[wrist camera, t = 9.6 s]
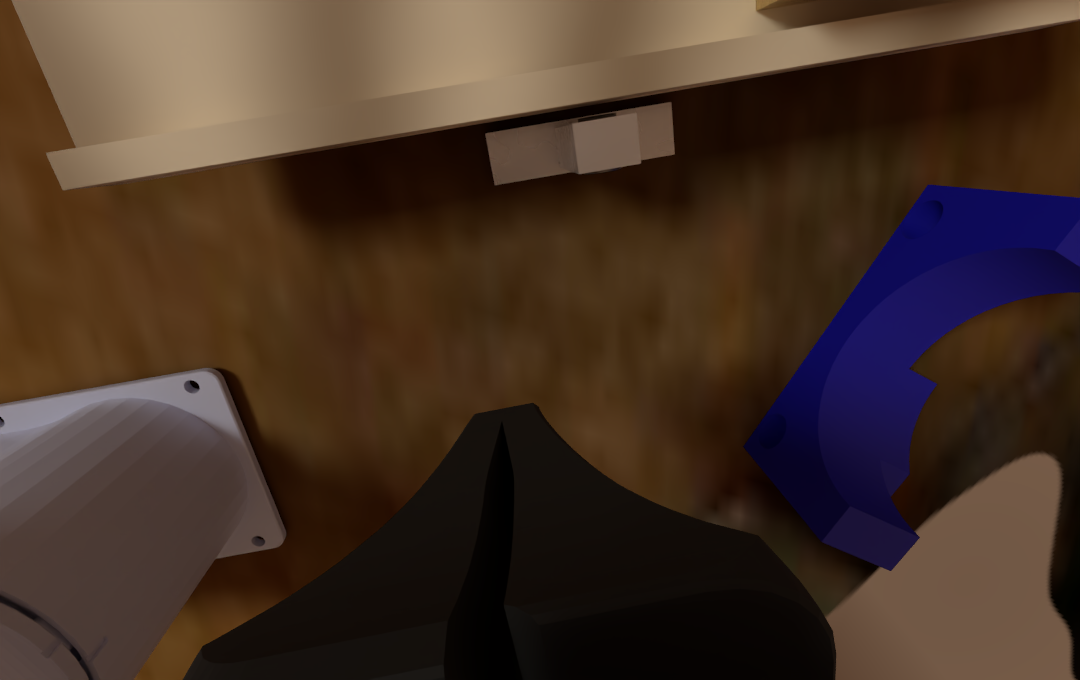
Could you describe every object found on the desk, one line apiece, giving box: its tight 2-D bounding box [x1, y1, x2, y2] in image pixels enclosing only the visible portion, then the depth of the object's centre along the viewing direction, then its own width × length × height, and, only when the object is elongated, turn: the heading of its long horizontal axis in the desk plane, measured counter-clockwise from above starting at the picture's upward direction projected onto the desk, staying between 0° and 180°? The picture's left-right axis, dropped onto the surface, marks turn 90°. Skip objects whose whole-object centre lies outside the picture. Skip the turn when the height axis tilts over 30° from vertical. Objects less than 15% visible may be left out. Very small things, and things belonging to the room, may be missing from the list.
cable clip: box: [743, 185, 1080, 571], centre depth 19 cm, size 12×4×6 cm, turn 153°
